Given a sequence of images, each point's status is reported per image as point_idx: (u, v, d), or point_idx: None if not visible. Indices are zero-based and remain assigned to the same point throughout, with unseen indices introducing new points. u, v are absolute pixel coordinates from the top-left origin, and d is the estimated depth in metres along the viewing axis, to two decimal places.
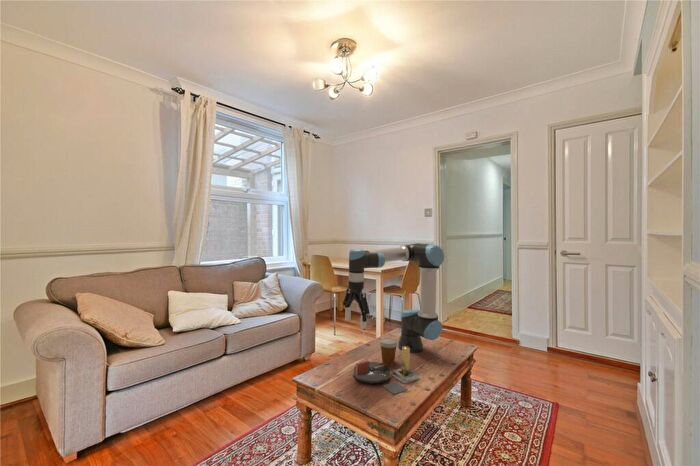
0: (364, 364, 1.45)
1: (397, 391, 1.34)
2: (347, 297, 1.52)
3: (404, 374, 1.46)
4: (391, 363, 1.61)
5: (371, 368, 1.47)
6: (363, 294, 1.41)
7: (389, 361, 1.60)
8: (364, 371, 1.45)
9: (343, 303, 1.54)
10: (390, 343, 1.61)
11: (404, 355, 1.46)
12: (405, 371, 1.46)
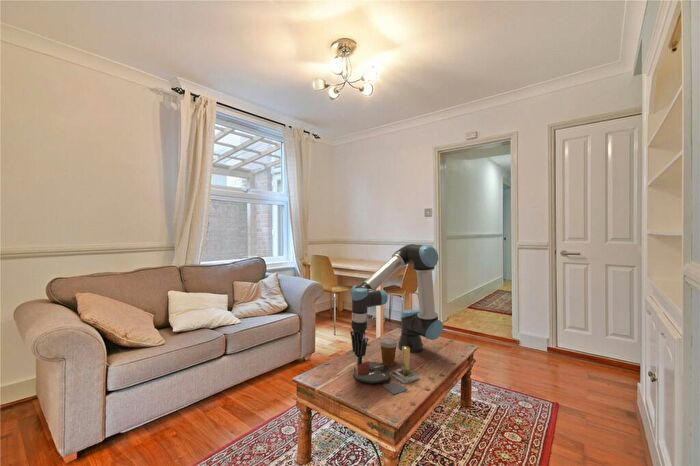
0: (364, 364, 1.44)
1: (397, 391, 1.34)
2: (354, 341, 1.48)
3: (404, 374, 1.46)
4: (391, 363, 1.61)
5: (371, 368, 1.47)
6: (365, 340, 1.40)
7: (389, 361, 1.60)
8: (364, 371, 1.44)
9: (353, 350, 1.48)
10: (390, 343, 1.61)
11: (404, 355, 1.46)
12: (405, 371, 1.46)
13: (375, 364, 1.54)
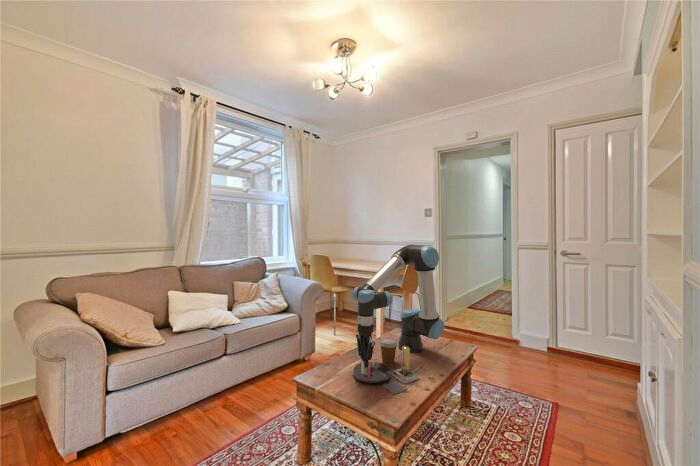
0: (371, 366, 1.43)
1: (397, 391, 1.34)
2: (360, 344, 1.44)
3: (404, 374, 1.46)
4: (391, 363, 1.61)
5: (372, 368, 1.47)
6: (372, 344, 1.36)
7: (389, 361, 1.60)
8: (371, 373, 1.43)
9: (359, 354, 1.43)
10: (390, 343, 1.61)
11: (404, 355, 1.46)
12: (405, 371, 1.46)
13: None
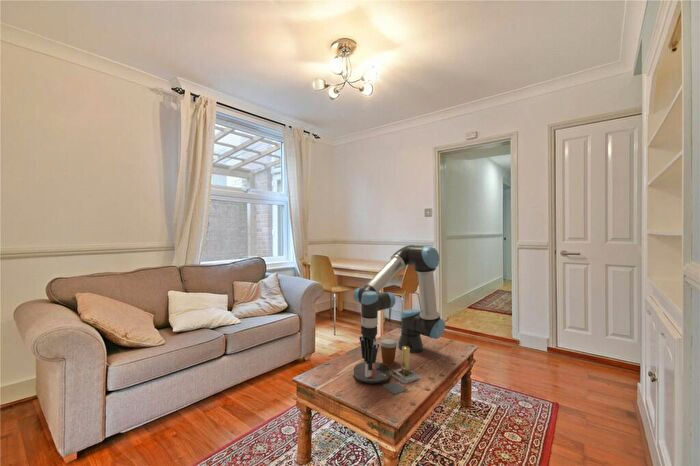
0: (373, 366, 1.43)
1: (397, 391, 1.34)
2: (363, 346, 1.41)
3: (404, 374, 1.46)
4: (391, 363, 1.61)
5: None
6: (376, 346, 1.33)
7: (389, 361, 1.60)
8: None
9: (362, 356, 1.41)
10: (390, 343, 1.61)
11: (404, 355, 1.46)
12: (405, 371, 1.46)
13: (364, 364, 1.53)
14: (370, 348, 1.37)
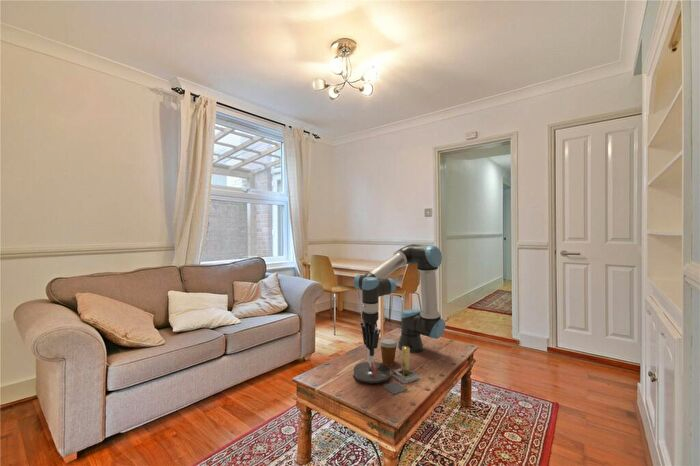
0: None
1: (397, 391, 1.34)
2: (365, 332, 1.41)
3: (404, 374, 1.46)
4: (391, 363, 1.61)
5: None
6: (378, 332, 1.33)
7: (389, 361, 1.60)
8: None
9: (364, 342, 1.40)
10: (390, 343, 1.61)
11: (404, 355, 1.46)
12: (405, 371, 1.46)
13: (363, 365, 1.53)
14: (371, 334, 1.36)
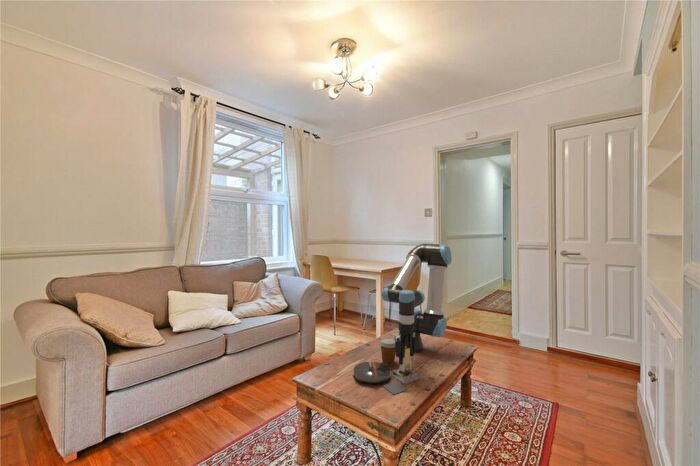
0: None
1: (397, 391, 1.34)
2: (412, 342, 1.50)
3: (404, 374, 1.46)
4: (391, 363, 1.61)
5: None
6: (395, 339, 1.44)
7: (389, 361, 1.60)
8: None
9: None
10: (390, 343, 1.61)
11: (404, 355, 1.46)
12: (405, 371, 1.46)
13: (363, 365, 1.53)
14: (401, 342, 1.46)
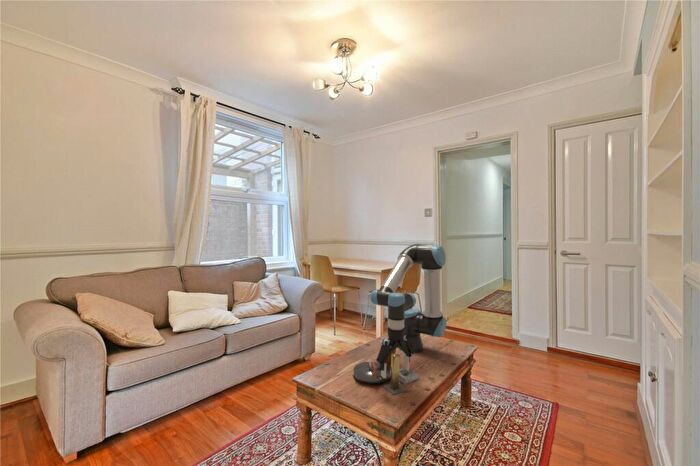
0: None
1: (397, 391, 1.34)
2: (406, 344, 1.41)
3: (393, 384, 1.36)
4: None
5: None
6: (383, 341, 1.34)
7: (389, 361, 1.60)
8: None
9: (408, 350, 1.43)
10: None
11: (393, 363, 1.36)
12: (394, 381, 1.36)
13: (363, 365, 1.53)
14: (388, 347, 1.35)
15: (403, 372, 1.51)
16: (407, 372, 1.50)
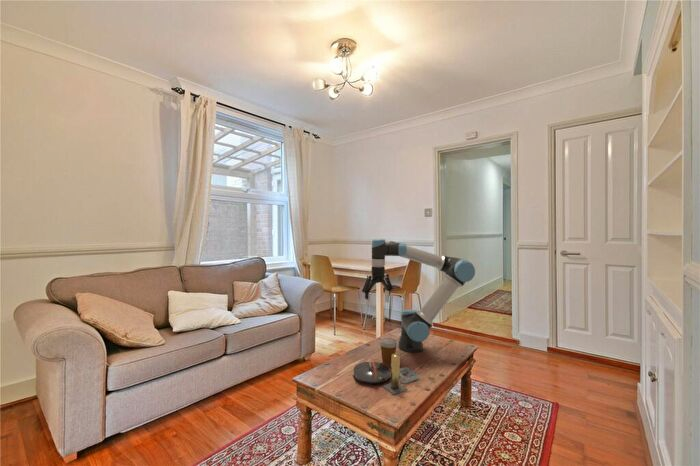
0: None
1: (397, 391, 1.34)
2: (387, 281, 1.74)
3: (393, 384, 1.36)
4: None
5: None
6: (368, 276, 1.66)
7: (389, 361, 1.60)
8: None
9: None
10: (390, 343, 1.61)
11: (394, 364, 1.36)
12: (394, 381, 1.36)
13: (363, 365, 1.53)
14: (371, 282, 1.68)
15: (403, 372, 1.51)
16: (407, 372, 1.50)
